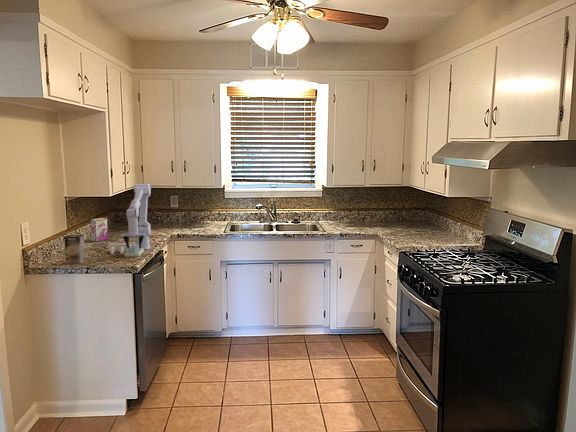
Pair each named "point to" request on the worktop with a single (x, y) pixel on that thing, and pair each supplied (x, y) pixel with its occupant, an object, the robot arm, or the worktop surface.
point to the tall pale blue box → (134, 248)
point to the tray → (134, 253)
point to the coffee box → (74, 248)
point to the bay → (118, 247)
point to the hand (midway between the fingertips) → (134, 247)
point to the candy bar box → (99, 229)
